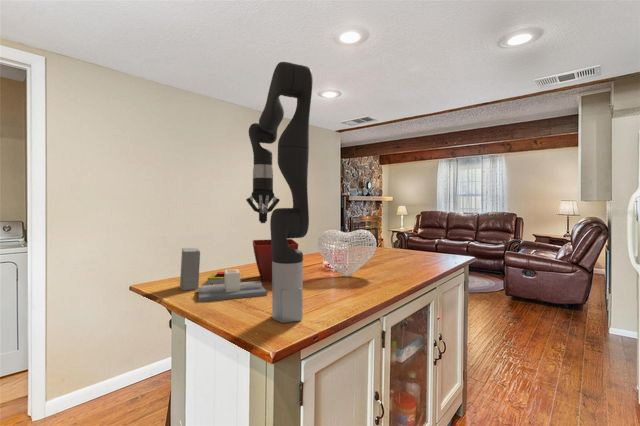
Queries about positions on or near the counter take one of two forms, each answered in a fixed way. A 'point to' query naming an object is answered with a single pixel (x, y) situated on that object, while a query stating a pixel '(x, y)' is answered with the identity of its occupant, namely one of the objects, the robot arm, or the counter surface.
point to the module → (232, 280)
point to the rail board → (231, 294)
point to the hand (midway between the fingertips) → (262, 223)
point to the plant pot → (266, 257)
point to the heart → (368, 256)
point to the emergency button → (216, 279)
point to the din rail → (223, 287)
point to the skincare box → (190, 269)
